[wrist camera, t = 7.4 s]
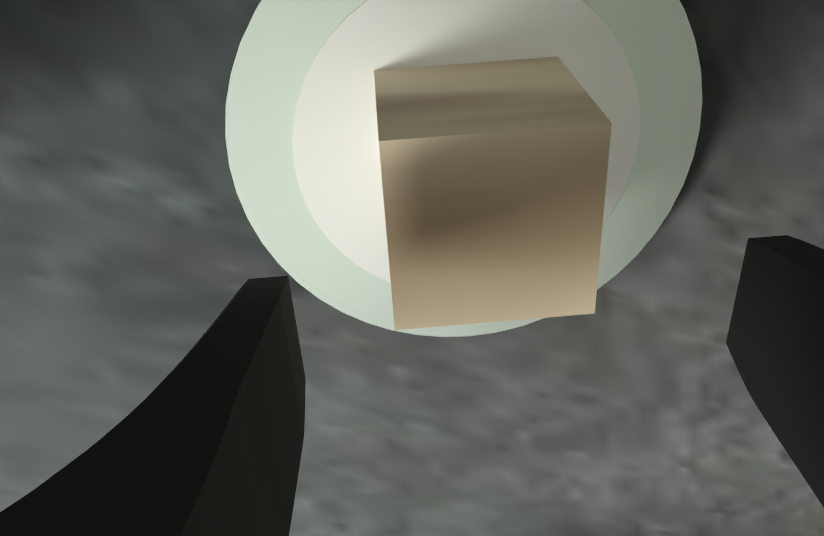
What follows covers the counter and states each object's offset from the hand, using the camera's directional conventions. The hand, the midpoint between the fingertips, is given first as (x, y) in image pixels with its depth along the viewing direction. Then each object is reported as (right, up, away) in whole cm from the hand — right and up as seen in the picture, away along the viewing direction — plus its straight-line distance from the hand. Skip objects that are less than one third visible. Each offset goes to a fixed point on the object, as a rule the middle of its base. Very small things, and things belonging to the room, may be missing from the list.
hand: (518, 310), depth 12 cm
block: (0, +3, +5) cm, 6 cm away
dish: (0, +4, +6) cm, 8 cm away
